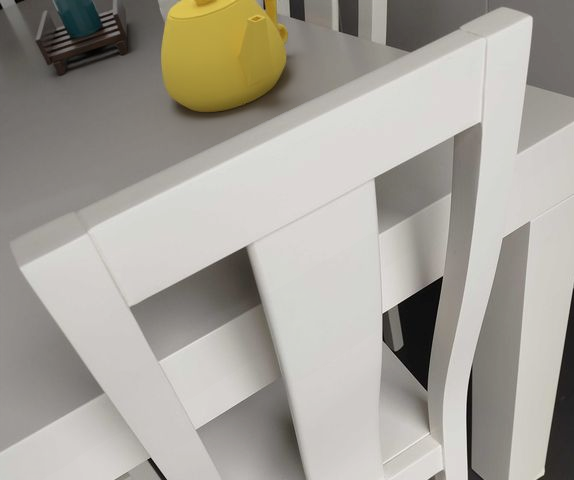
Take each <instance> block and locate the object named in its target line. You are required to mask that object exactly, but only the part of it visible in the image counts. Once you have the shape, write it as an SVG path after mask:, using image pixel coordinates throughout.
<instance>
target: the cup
mask: <svg viewBox="0 0 574 480" xmlns="http://www.w3.org/2000/svg"><path fill="white" fill-rule="evenodd" d="M51 1H52V3H53V5H54V7H55V9H56V12H57V13H58V16H59V18H60V20H61V22H62V25H63V26H64V27H65V29H66V31H67V33H68V34H69V37H70V38H80V37H84V36H87V35H90V34H92V33H94V32H96V31H98V30H99V29H100V28H102V26H103V23H102V21H101V18H100V15H99V14H100V13H99V11H98V8H97V6H96V4H95V1H94V0H51Z"/></svg>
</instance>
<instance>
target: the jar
mask: <svg viewBox="0 0 574 480" xmlns="http://www.w3.org/2000/svg"><path fill="white" fill-rule="evenodd" d="M180 1H182V0H157V3H158V5H159V12H160V14H161V17H162V21H163V22H164V24H165V23H166V20H167V16H168V13H169V11H170V9H171V8H172V7H173V6H174V5H175V4H177V3H178V2H180Z"/></svg>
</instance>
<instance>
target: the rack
mask: <svg viewBox="0 0 574 480" xmlns="http://www.w3.org/2000/svg"><path fill="white" fill-rule="evenodd" d="M99 15H100V18H101V21H102V23H103V26H102V28H100V29H99V30H98V31H96V32H94V33H92V34H90V35H87V36H84V37H80V38H70V37H69V34H68V33H67V31H66V29H65V27H64V25H61V26H59V27H56V25H55V23H54V21H53V18H52V16H51V14H50V12H49V10H48V9H46V10H44V11H43V12H42V14H41V19H40V23H39V26H38V30H37V32H36V36H35V43H36V45H37V47H38V49H39V51H40V53H41V55H42V57H43V59H44V61H45V63H46V65H47V66H51V65H53V68H54V69H55V71H56V73H57V75H58V76H63V75H65V74H66V72H67V67H68V59H69V58H72V57H74V56H75V57H76V56H77V55H80V54H84V53H86V52H89V51H92V50H96V49H99V48H102V47H105V46H108V45H111V44H114V43H115V45H116V47H117V49H118V52H119V54H120V56H123V55H127V54H128V38H129V37H128V27H127V26H128V25H127V12H126V8H125V5H124V3H123V0H112V9H110V10H107V11H104V12H101V13H99Z"/></svg>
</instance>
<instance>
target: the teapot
mask: <svg viewBox="0 0 574 480" xmlns="http://www.w3.org/2000/svg"><path fill="white" fill-rule="evenodd" d="M264 4H265V5H264V6H265V10H264V9H263V8H262V7H261V6H260V5H259V3H258V2H257V1H256V0H182V1H180V2H178V3H177V4H175V5H174V6H173V7H172V8H171V9H170V11H169V13H168V16H167V20H166V23H164V30H163V36H162V40H161V41H162V42H161V51H160V63H161V75H162V79H163V83H164V87H165V89H166V92H167V94H168V95H169V96H170V97H171V98H172V100H174V101H175V102H177V103H179V104H180V105H182V106H183V107H185V108H188V110H190V111H193V112H198V113H215V112H216V113H217V112H222V111H228V110H232V109H235V108H238V107H241V106H244V105H247V104H249V103H251V102H253V101H255V100H257V99H259V98H261V97H262V96H264V95H265V94H267V93H269V91H271V90H272V89H273V88H274V87H275V86H276V85H277V84H278V81H279V80H280V78H281V76H282V74H283V71H284V69H285V67H286V64H287V50H286V47H285V45H286V44H287V42H288V40H289V31H288V29H287V27H286V26H285V25H284V24H283V23H278V6H277V5H278V4H277V0H264ZM246 103H247V104H246Z"/></svg>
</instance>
